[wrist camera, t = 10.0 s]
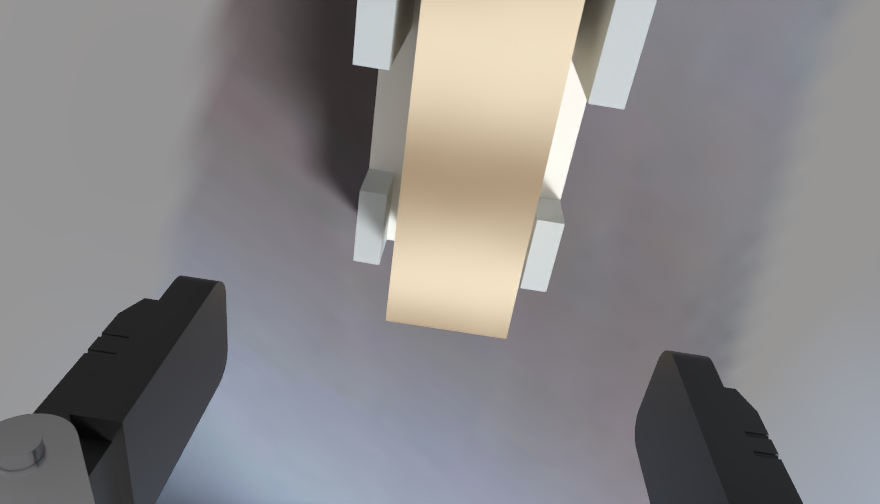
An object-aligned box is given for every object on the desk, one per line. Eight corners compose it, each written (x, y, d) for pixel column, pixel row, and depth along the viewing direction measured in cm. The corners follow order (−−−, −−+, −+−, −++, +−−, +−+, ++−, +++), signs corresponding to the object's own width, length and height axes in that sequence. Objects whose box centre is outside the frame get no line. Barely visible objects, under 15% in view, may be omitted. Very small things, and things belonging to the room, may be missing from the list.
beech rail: (443, -64, 21) (425, -41, 16) (566, -45, 21) (588, -17, 16) (407, 232, 27) (385, 320, 22) (504, 247, 27) (506, 338, 22)
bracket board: (541, 252, 28) (552, 349, 22) (366, 223, 28) (333, 314, 22) (630, -89, 21) (678, -72, 16) (401, -128, 21) (366, -124, 16)
